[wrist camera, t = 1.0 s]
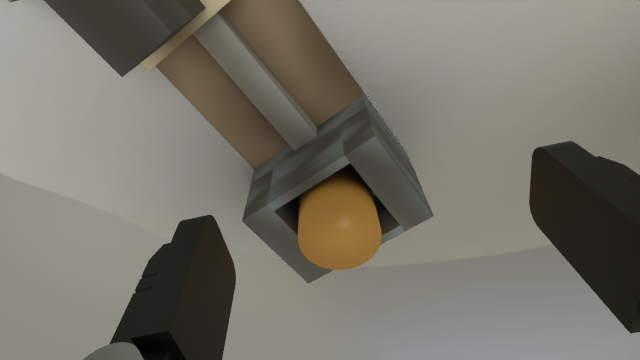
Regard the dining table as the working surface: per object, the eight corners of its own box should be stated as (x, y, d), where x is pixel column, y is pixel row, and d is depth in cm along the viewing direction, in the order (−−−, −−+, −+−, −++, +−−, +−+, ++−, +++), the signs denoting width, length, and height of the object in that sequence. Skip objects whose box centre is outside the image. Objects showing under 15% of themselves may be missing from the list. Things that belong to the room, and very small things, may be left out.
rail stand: (133, -236, 20) (44, -318, 14) (408, 155, 33) (433, 215, 26) (18, -95, 23) (-103, -104, 17) (309, 215, 36) (308, 283, 29)
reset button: (345, 153, 26) (351, 189, 22) (386, 204, 28) (397, 245, 24) (284, 192, 27) (280, 232, 24) (327, 238, 29) (329, 281, 26)
